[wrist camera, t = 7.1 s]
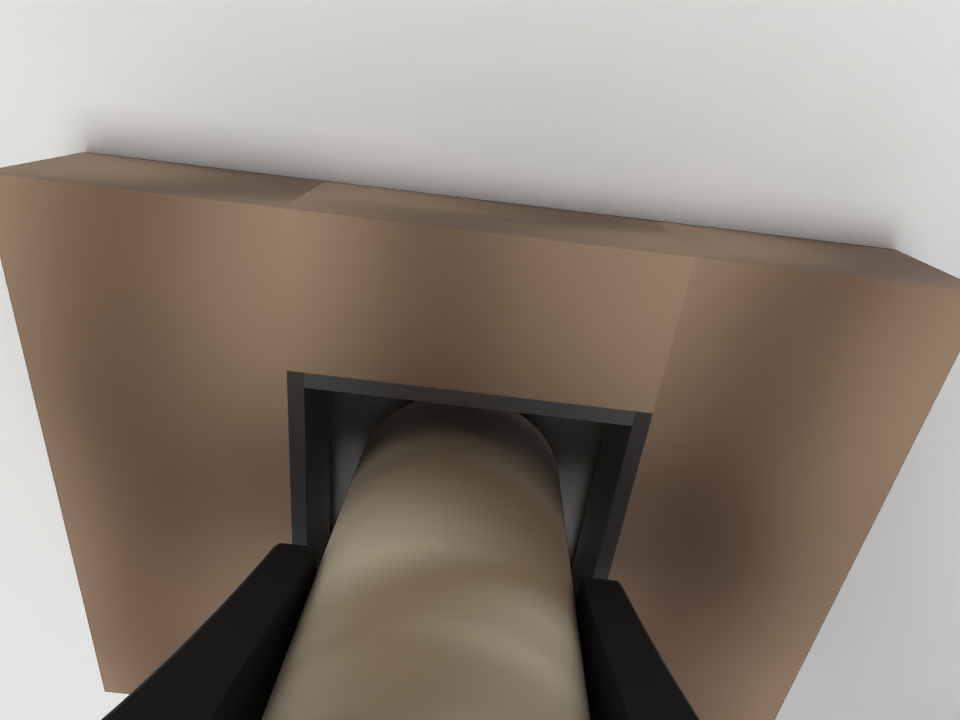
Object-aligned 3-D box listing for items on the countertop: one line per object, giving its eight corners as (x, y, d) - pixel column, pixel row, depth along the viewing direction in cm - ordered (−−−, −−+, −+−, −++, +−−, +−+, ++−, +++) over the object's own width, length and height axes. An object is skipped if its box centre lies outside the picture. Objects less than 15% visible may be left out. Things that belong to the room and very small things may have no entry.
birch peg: (574, 407, 12) (705, 1043, 4) (541, 567, 14) (589, 1215, 6) (361, 382, 12) (84, 977, 4) (357, 546, 14) (160, 1173, 6)
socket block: (895, 249, 12) (989, 292, 9) (720, 669, 17) (752, 762, 15) (83, 152, 11) (-21, 172, 9) (159, 607, 17) (105, 691, 14)
